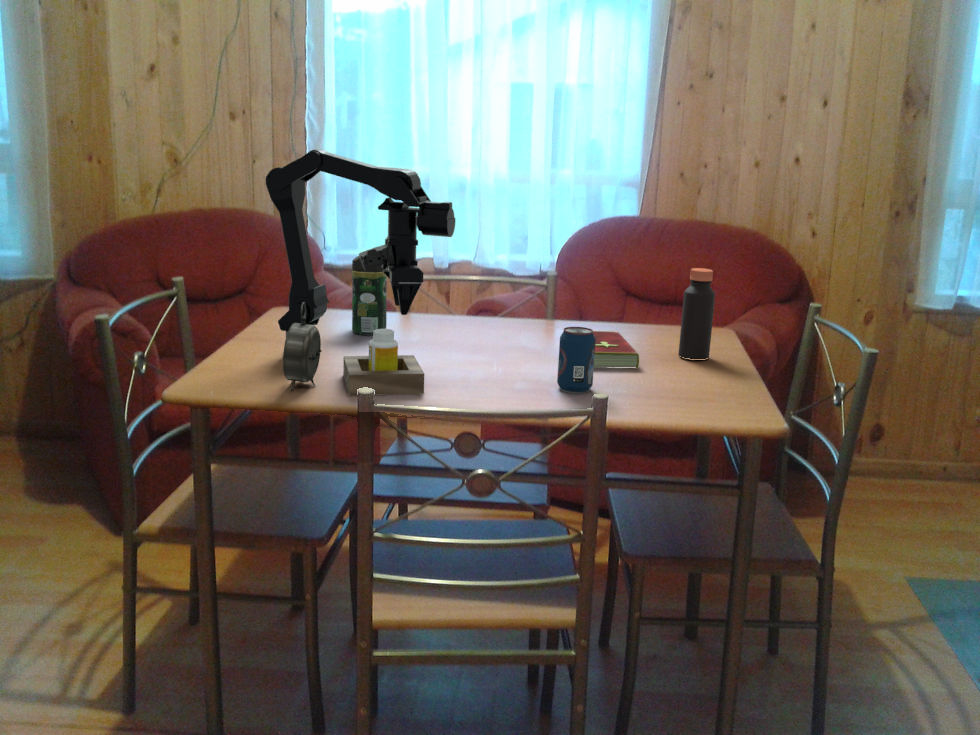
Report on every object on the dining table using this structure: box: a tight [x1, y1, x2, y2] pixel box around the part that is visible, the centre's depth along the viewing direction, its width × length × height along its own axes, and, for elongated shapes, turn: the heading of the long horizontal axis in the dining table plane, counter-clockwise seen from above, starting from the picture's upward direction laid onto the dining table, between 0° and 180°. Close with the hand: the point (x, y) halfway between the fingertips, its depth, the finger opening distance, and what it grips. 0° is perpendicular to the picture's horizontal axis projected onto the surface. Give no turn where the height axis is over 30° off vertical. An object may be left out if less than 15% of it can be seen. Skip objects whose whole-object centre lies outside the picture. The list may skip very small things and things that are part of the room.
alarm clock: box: [282, 302, 322, 392], centre depth 191 cm, size 11×5×16 cm, turn 174°
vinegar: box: [678, 267, 716, 359], centre depth 225 cm, size 7×7×20 cm
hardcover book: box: [593, 330, 640, 369], centre depth 225 cm, size 12×21×4 cm, turn 5°
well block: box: [343, 354, 425, 397], centre depth 196 cm, size 14×14×4 cm
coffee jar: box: [351, 255, 388, 336], centre depth 238 cm, size 10×8×19 cm
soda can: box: [556, 326, 596, 394], centre depth 197 cm, size 7×7×12 cm
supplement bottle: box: [368, 328, 399, 371], centre depth 195 cm, size 6×6×10 cm
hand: (400, 310), depth 206 cm, fingers open, 9 cm apart
